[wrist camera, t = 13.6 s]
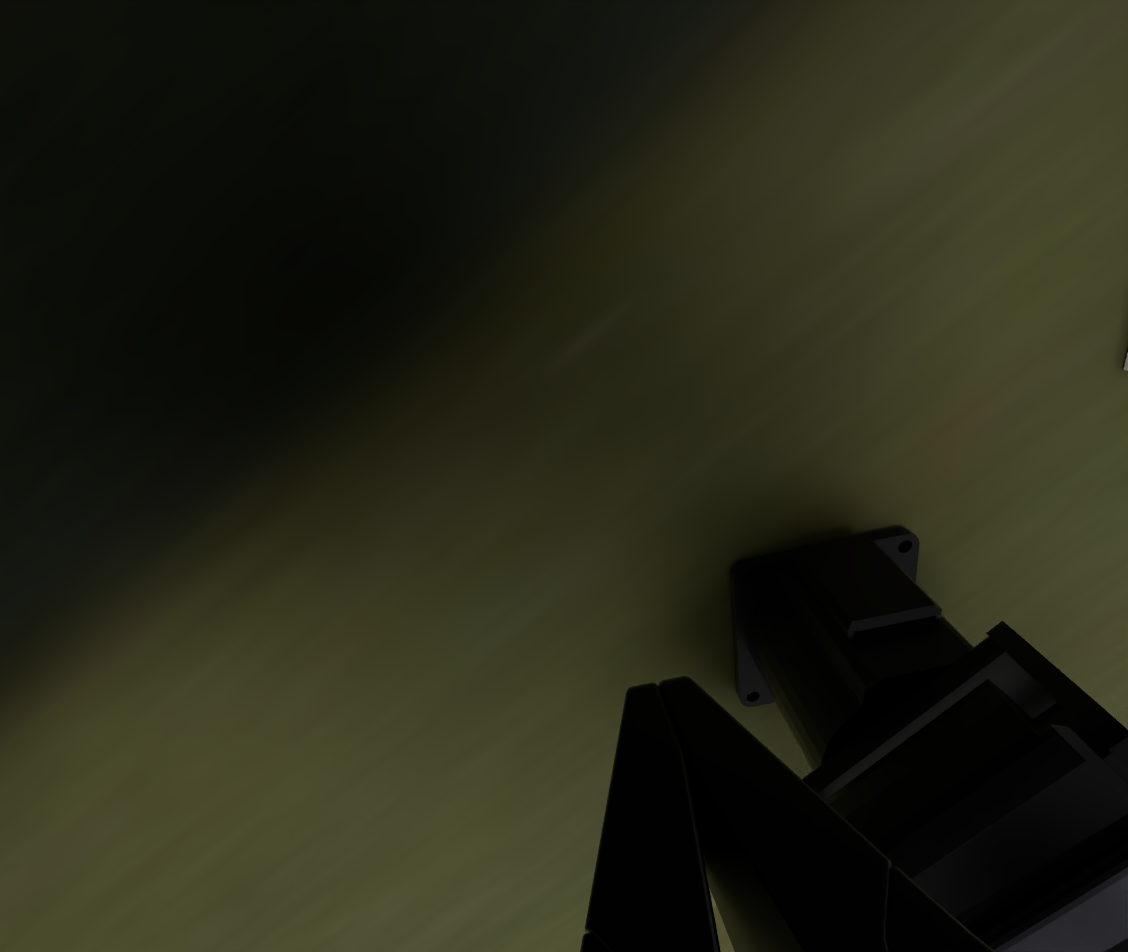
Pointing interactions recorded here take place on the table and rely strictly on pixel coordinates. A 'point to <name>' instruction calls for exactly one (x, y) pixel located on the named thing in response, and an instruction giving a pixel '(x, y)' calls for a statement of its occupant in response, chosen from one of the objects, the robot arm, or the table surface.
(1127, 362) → the mixer console
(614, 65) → the table surface
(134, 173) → the table surface
